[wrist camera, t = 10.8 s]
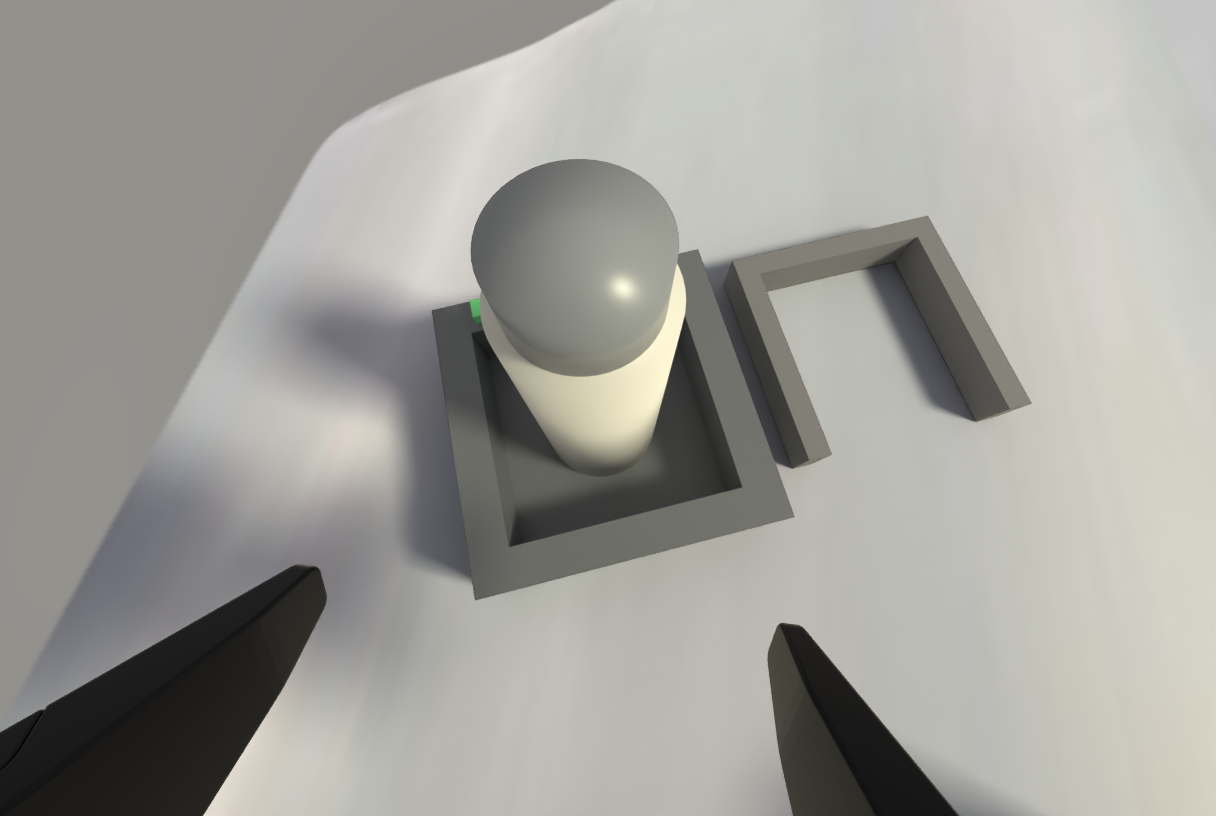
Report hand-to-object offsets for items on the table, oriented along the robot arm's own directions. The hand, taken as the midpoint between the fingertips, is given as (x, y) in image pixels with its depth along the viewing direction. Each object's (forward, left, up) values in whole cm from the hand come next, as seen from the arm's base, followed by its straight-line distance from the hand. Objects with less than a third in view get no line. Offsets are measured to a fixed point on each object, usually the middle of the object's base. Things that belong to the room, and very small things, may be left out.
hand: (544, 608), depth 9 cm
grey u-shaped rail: (+7, -15, -12) cm, 21 cm away
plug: (+6, -2, -11) cm, 13 cm away
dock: (+6, -2, -12) cm, 13 cm away
